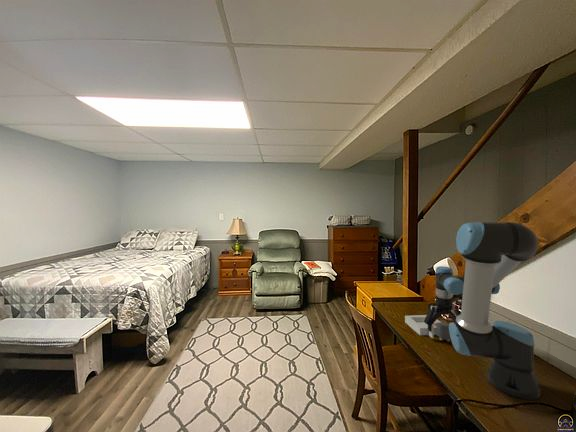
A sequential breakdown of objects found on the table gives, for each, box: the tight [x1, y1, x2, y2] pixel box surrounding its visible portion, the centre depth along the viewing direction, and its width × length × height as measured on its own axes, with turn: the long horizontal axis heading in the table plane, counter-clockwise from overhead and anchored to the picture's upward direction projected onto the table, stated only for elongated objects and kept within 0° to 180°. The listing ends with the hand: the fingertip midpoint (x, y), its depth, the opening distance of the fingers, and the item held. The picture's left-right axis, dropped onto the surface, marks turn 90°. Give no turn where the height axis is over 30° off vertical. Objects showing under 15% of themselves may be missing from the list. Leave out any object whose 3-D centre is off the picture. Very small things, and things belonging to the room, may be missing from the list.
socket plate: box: [404, 314, 441, 336], centre depth 143 cm, size 16×16×5 cm
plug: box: [435, 321, 451, 342], centre depth 130 cm, size 5×5×8 cm
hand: (443, 336), depth 130 cm, fingers open, 13 cm apart
